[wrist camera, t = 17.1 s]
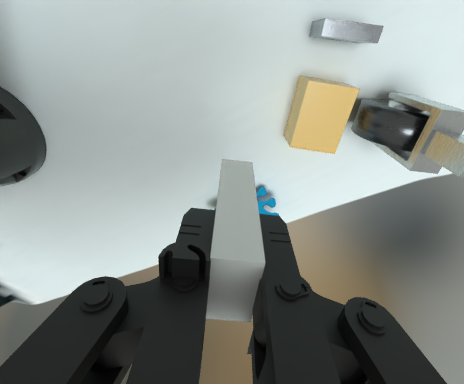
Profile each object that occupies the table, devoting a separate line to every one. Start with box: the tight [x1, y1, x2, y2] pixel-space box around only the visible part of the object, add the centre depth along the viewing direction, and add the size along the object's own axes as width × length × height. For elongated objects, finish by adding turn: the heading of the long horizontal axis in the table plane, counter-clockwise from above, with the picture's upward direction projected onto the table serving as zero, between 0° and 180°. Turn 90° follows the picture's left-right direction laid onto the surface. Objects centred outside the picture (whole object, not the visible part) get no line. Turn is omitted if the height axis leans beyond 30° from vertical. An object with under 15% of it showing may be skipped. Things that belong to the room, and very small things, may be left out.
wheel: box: [351, 92, 464, 178], centre depth 27 cm, size 10×6×17 cm, turn 84°
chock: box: [284, 76, 360, 154], centre depth 33 cm, size 6×8×5 cm
